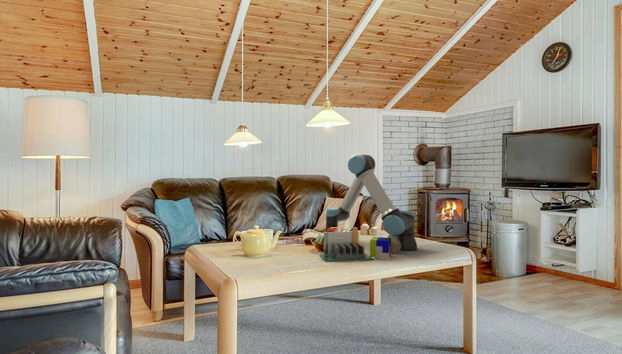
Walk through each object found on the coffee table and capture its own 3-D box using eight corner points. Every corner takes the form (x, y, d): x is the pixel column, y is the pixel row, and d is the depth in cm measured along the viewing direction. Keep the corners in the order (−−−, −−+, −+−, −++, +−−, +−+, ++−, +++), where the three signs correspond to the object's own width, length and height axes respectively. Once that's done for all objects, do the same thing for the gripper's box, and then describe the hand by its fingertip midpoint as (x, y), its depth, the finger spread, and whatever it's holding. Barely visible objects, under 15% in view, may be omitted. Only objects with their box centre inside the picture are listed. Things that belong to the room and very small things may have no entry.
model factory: (364, 254, 237) (364, 226, 237) (372, 259, 222) (373, 230, 222) (319, 255, 233) (319, 227, 232) (325, 261, 218) (325, 231, 217)
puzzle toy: (388, 259, 225) (388, 240, 224) (370, 257, 228) (370, 239, 228) (390, 255, 234) (391, 237, 234) (373, 254, 237) (373, 236, 237)
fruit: (400, 252, 246) (401, 232, 247) (402, 254, 237) (402, 233, 238) (383, 251, 248) (383, 231, 248) (383, 253, 239) (384, 232, 239)
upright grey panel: (357, 252, 235) (357, 231, 234) (358, 253, 232) (359, 231, 232) (323, 253, 232) (323, 232, 231) (324, 254, 229) (324, 232, 229)
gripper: (345, 241, 258) (356, 249, 235) (324, 241, 255) (332, 249, 232) (345, 229, 257) (356, 236, 234) (324, 229, 255) (332, 236, 232)
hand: (344, 243), depth 233 cm, fingers closed, pressing on upright grey panel
